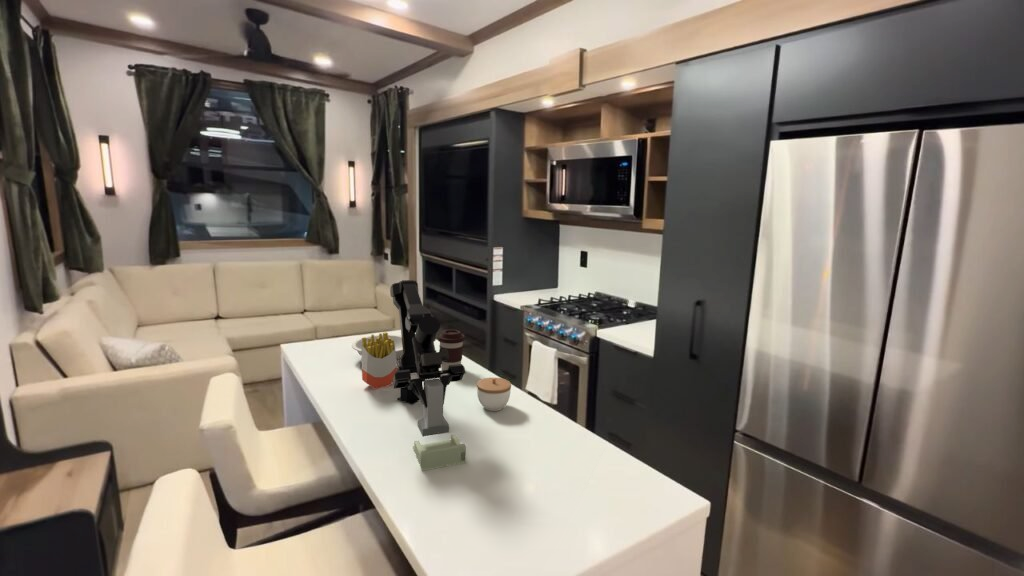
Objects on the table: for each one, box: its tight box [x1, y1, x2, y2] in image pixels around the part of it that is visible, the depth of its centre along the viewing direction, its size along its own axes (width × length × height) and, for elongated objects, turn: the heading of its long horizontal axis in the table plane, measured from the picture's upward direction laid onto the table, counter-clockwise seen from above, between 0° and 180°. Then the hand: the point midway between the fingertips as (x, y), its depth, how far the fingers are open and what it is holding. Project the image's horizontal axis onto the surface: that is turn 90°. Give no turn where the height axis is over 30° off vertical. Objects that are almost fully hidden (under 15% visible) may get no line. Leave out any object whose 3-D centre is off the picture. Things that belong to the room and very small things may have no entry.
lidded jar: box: [476, 377, 512, 412], centre depth 148 cm, size 11×11×9 cm
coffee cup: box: [437, 329, 466, 370], centre depth 178 cm, size 10×10×15 cm
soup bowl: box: [351, 334, 403, 360], centre depth 189 cm, size 24×24×7 cm
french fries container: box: [361, 331, 398, 390], centre depth 161 cm, size 5×11×18 cm, turn 129°
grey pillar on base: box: [417, 378, 450, 437], centre depth 123 cm, size 6×7×13 cm
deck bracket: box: [412, 433, 467, 472], centre depth 119 cm, size 11×11×4 cm
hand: (434, 406), depth 122 cm, fingers closed on grey pillar on base, 4 cm apart
